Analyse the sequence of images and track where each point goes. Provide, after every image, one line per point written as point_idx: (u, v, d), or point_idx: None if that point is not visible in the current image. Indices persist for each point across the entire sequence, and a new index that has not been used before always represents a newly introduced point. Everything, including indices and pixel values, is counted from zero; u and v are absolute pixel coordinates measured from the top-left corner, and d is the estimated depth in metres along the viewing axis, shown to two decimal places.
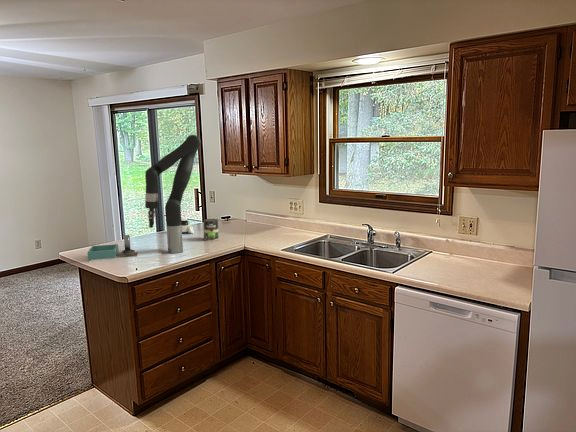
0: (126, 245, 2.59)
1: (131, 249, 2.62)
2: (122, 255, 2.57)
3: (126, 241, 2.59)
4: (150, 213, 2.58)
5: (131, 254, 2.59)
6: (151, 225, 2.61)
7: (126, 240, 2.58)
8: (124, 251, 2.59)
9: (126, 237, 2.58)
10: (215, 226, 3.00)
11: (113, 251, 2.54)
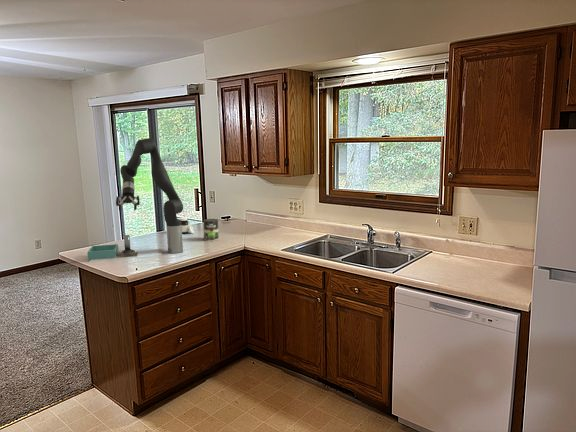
0: (126, 245, 2.59)
1: (131, 249, 2.62)
2: (122, 255, 2.57)
3: (126, 241, 2.59)
4: None
5: (131, 254, 2.59)
6: (119, 208, 2.72)
7: (126, 240, 2.58)
8: (124, 251, 2.59)
9: (126, 237, 2.58)
10: (215, 226, 3.00)
11: (113, 251, 2.54)
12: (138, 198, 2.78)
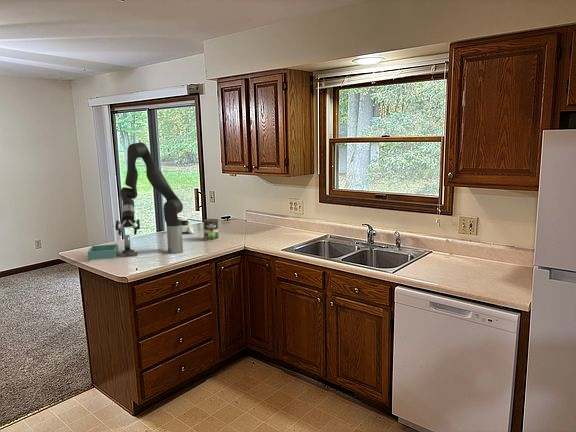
0: (126, 245, 2.59)
1: (131, 249, 2.62)
2: (122, 255, 2.57)
3: (126, 241, 2.59)
4: (116, 223, 2.68)
5: (131, 254, 2.59)
6: None
7: (126, 240, 2.58)
8: (124, 251, 2.59)
9: (126, 237, 2.58)
10: (215, 226, 3.00)
11: (113, 251, 2.54)
12: (138, 222, 2.70)
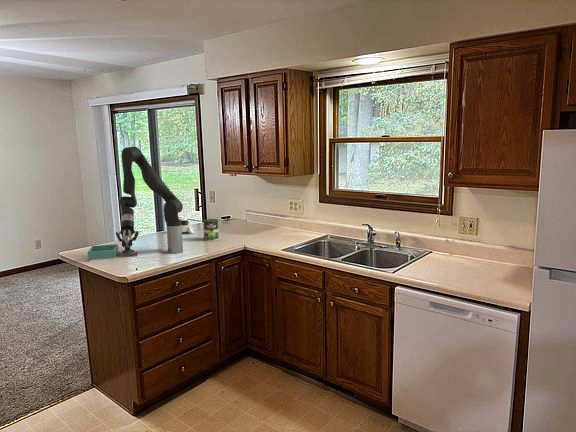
0: (126, 245, 2.59)
1: (131, 249, 2.62)
2: (122, 255, 2.57)
3: (126, 241, 2.59)
4: (116, 235, 2.62)
5: (131, 254, 2.59)
6: (122, 244, 2.58)
7: (126, 240, 2.58)
8: (124, 251, 2.59)
9: (126, 237, 2.58)
10: (215, 226, 3.00)
11: (113, 251, 2.54)
12: (136, 234, 2.63)
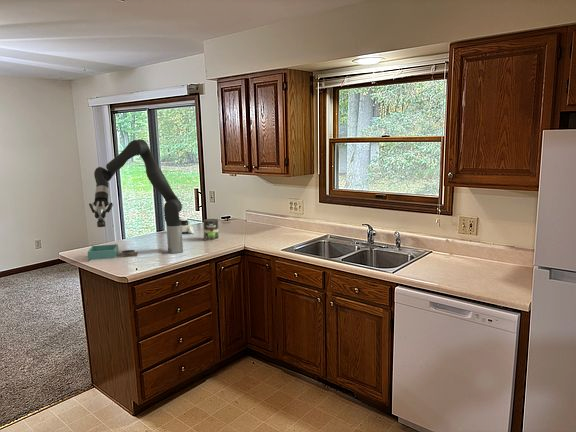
0: (99, 216, 2.54)
1: (104, 221, 2.57)
2: (122, 255, 2.57)
3: (99, 212, 2.54)
4: None
5: (131, 254, 2.59)
6: (95, 215, 2.54)
7: (99, 211, 2.54)
8: (97, 222, 2.55)
9: (99, 208, 2.54)
10: (215, 226, 3.00)
11: (113, 251, 2.54)
12: (110, 205, 2.59)
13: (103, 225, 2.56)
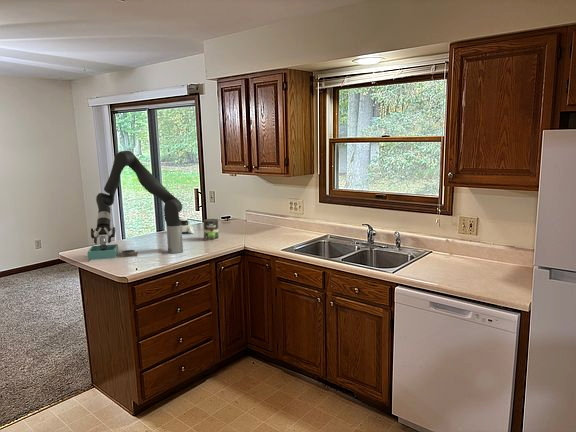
0: (102, 246, 2.58)
1: None
2: (122, 255, 2.57)
3: (102, 242, 2.57)
4: (91, 231, 2.60)
5: (131, 254, 2.59)
6: (94, 241, 2.56)
7: (102, 241, 2.57)
8: None
9: (102, 238, 2.57)
10: (215, 226, 3.00)
11: (113, 251, 2.54)
12: (113, 230, 2.62)
13: None
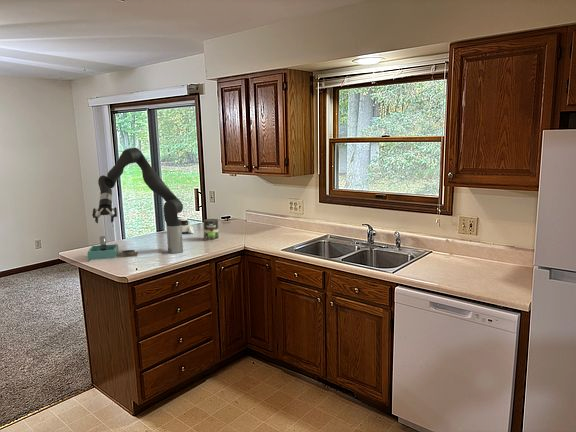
0: (102, 246, 2.58)
1: None
2: (122, 255, 2.57)
3: (102, 242, 2.57)
4: None
5: (131, 254, 2.59)
6: None
7: (102, 241, 2.57)
8: None
9: (102, 238, 2.57)
10: (215, 226, 3.00)
11: (113, 251, 2.54)
12: (115, 210, 2.73)
13: None
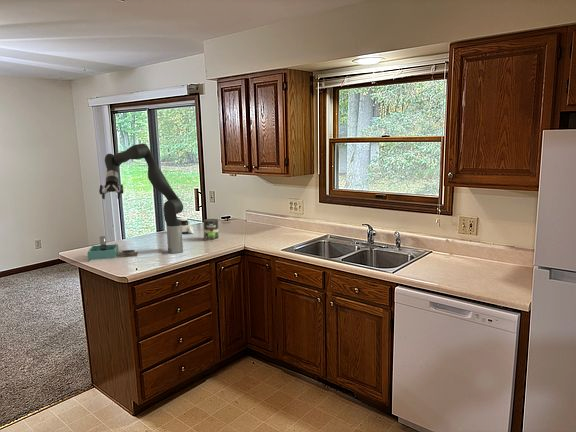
0: (102, 246, 2.58)
1: None
2: (122, 255, 2.57)
3: (102, 242, 2.57)
4: (100, 187, 2.77)
5: (131, 254, 2.59)
6: None
7: (102, 241, 2.57)
8: None
9: (102, 238, 2.57)
10: (215, 226, 3.00)
11: (113, 251, 2.54)
12: (122, 187, 2.78)
13: None
